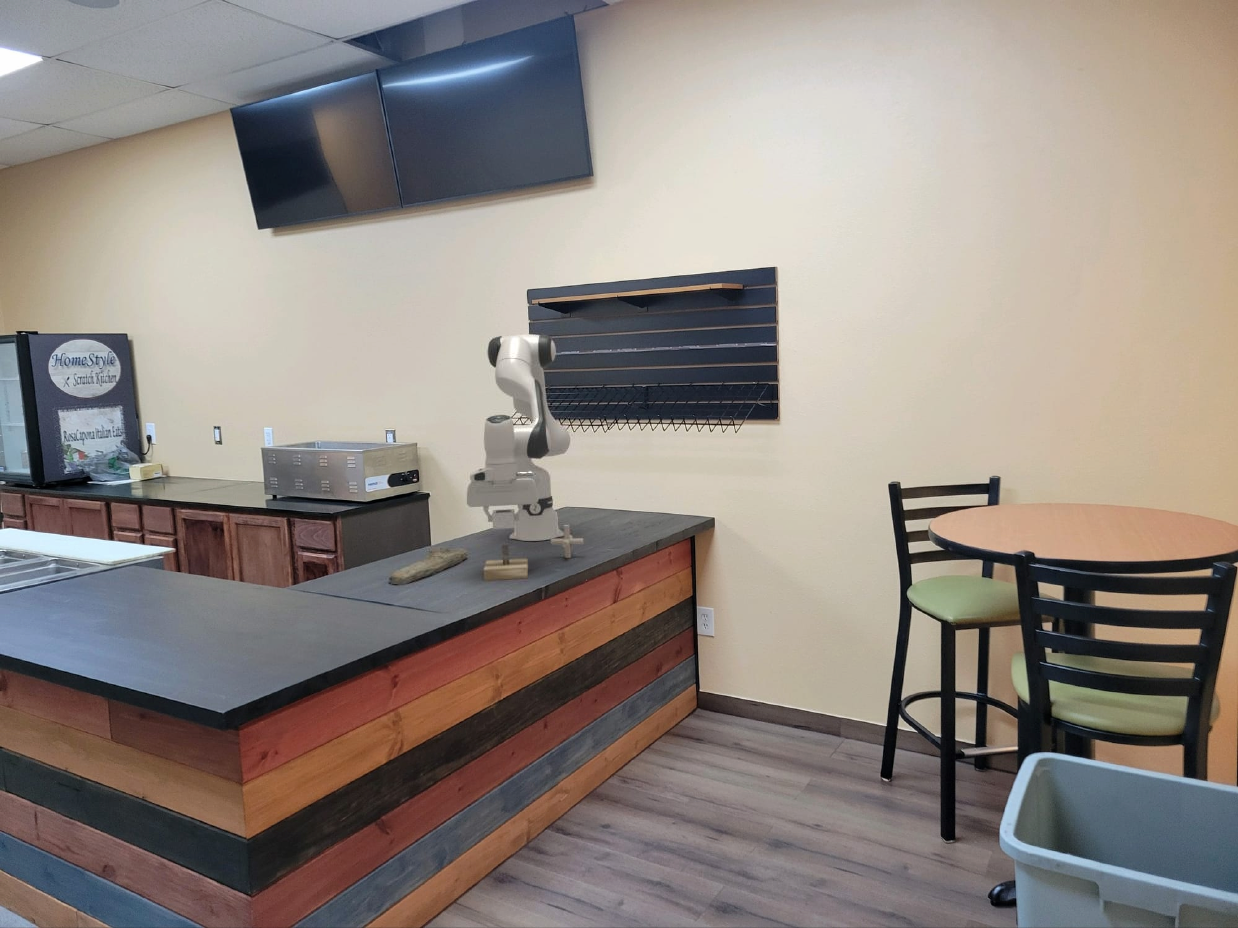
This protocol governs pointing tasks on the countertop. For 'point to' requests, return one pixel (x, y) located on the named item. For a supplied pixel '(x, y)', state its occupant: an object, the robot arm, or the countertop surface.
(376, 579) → the countertop surface
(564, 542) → the pipe connector
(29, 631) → the countertop surface
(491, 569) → the shaft stand
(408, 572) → the long grey stone
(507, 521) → the silver square ring
